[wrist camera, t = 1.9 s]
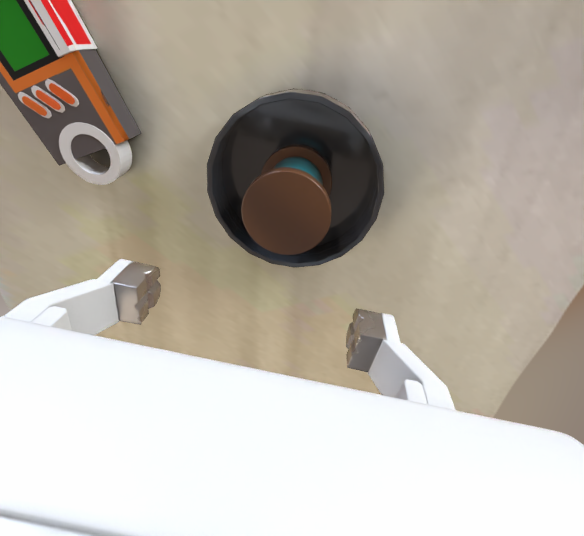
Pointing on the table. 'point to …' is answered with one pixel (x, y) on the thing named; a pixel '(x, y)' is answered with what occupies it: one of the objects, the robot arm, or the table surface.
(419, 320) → the table surface
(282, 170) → the spool
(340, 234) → the pan
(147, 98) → the table surface
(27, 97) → the electronic device
